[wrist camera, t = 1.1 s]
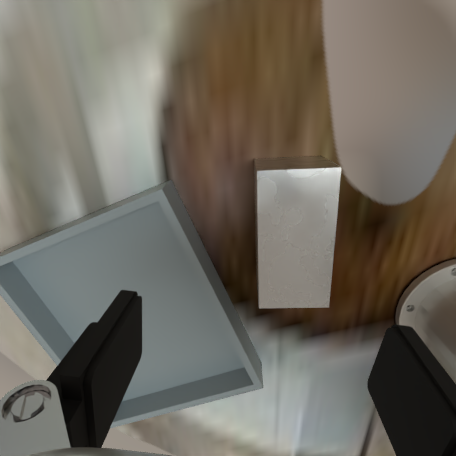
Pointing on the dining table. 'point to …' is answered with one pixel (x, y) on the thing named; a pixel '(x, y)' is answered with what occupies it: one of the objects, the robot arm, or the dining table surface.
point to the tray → (151, 300)
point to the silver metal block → (295, 230)
